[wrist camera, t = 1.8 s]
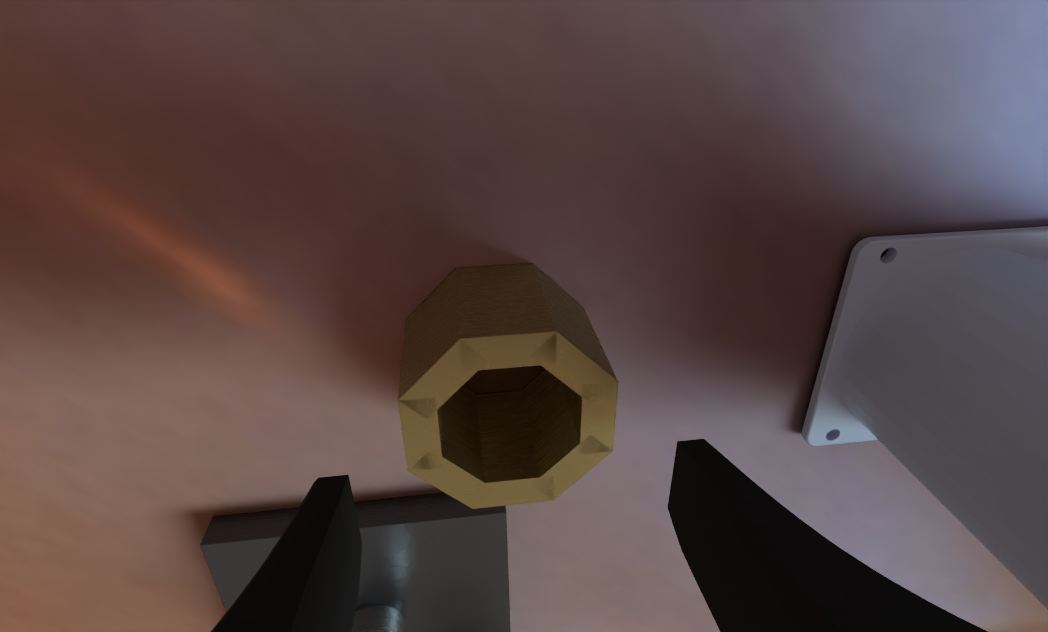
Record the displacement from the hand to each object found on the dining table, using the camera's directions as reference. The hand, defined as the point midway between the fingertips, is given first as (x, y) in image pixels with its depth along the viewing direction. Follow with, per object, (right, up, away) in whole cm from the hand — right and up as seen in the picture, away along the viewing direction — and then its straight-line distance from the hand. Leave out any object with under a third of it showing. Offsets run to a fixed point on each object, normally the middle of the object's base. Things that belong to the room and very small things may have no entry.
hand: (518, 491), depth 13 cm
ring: (-1, +3, +5) cm, 6 cm away
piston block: (-6, -7, +10) cm, 14 cm away
